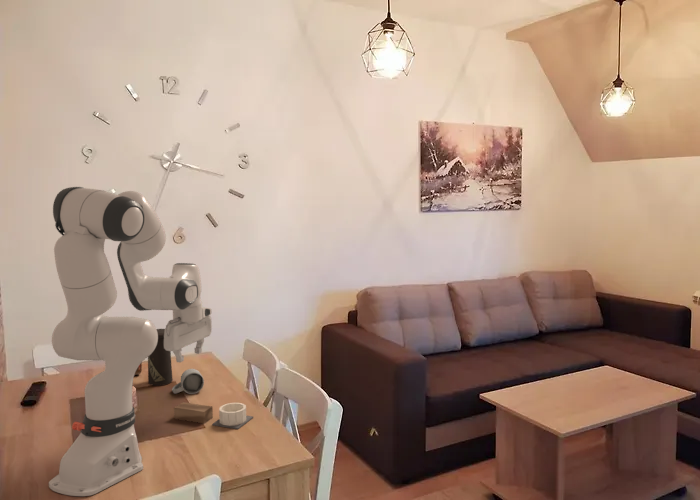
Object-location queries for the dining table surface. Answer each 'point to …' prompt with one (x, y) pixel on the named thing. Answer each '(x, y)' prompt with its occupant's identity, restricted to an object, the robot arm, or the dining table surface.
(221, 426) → the mat
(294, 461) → the dining table surface
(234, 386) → the dining table surface
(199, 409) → the brown wooden block
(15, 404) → the dining table surface
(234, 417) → the bowl
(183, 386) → the ceramic mug
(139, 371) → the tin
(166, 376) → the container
